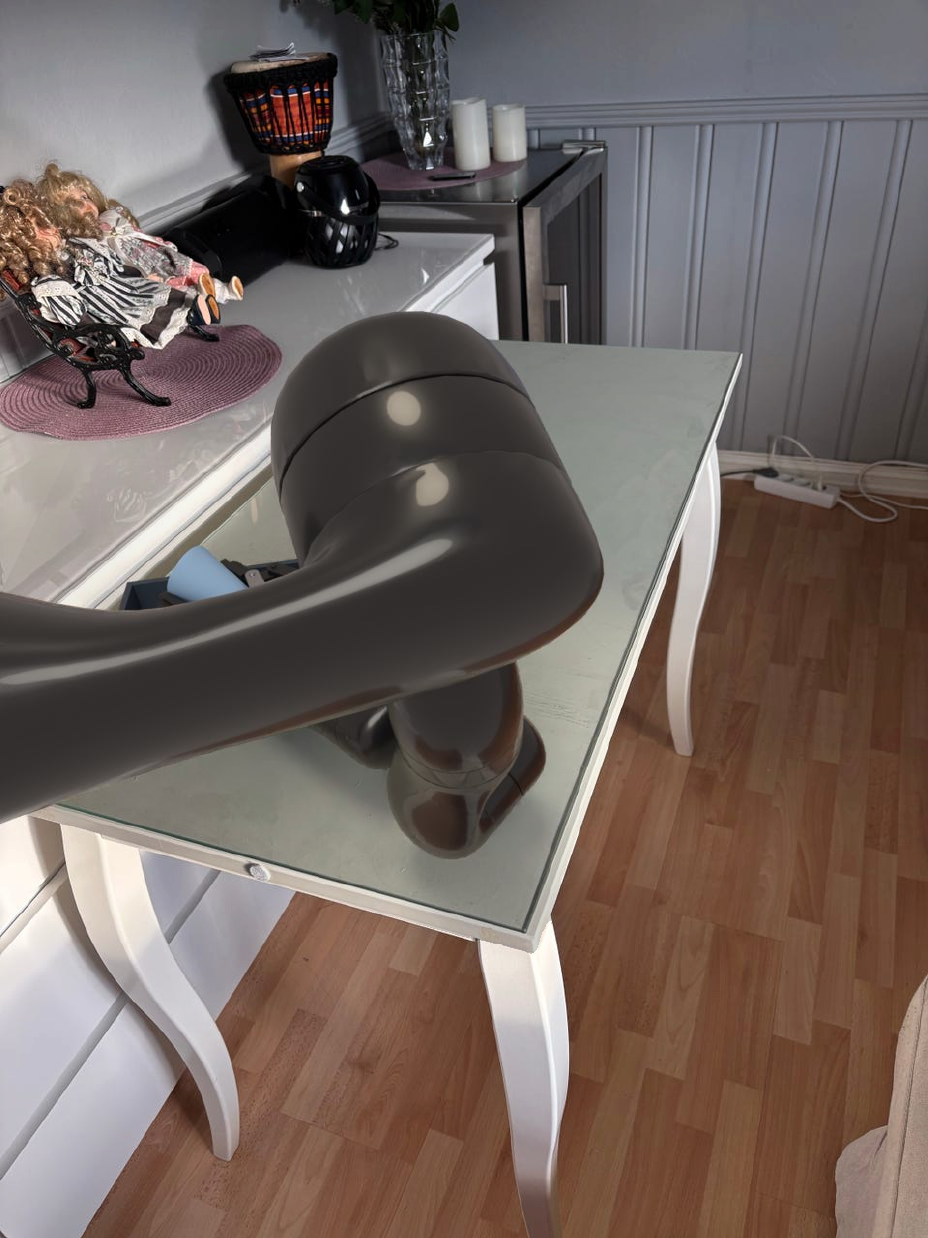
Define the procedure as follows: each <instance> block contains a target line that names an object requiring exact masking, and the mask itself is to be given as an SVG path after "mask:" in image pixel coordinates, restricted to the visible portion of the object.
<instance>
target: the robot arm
mask: <svg viewBox="0 0 928 1238" xmlns="http://www.w3.org/2000/svg"><path fill="white" fill-rule="evenodd" d="M269 451H270V453H269V454H270V465H271V471H272V476H273V480H274V485H275V490H276V495H277V497H278V502H279V505H280V506H279V507H280V508H281V512H282V514H283V516H284V520H285V524H286V527H287V530H288V533H289V537H290V541H291V543H292V547H293V551H294V555H295V557H296V559H297V561H298V564H299V568H300V569H295V568H293V567H290V566H287V565H284V564H281V563H277V561H274V562H275V563H271V564H269V565H268V566H267V570H265V571H262V572H259V571H258V570H251V569H249V568H247V567H246V566H247V565H245V564H242V563H241V562H240V561H237V560H231V561H230V560H229V559H227V558H223V559H222V560H219V561H220V562H221V563H222V564H223V565H224V566H225V567H226V568H227V569H228V570H230V571H231V572H232V573H233V574H234V575H235V576H236V577H237V578H238V579H239V580H241V581H242V582H243V583H244V584H245V585H246V586H247V587H248V588H246V589H242V590H239V591H235V592H232V593H228V594H224V595H220V596H215V597H211V598H206V599H201V600H197V601H192V602H188V603H183V602H182V601H180V600H179V599H177V598H176V597H175V596H173V595H172V594H171V593H169V592H168V591H165V592H163V593H161V594H160V595H159V598H160V601H159V602H157V603H158V607H159V608H156V609H146V610H115V609H114V610H111V609H110V610H109V609H102V608H101V609H99V608H88V607H83V606H76V605H69V604H64V603H63V604H62V603H57V602H53V601H52V602H51V601H46V600H42V599H37V598H33V597H29V596H24V595H20V594H16V593H11V592H8V591H2V590H0V825H2V824H4V823H8V822H10V821H12V820H16V819H18V818H21V817H23V816H27V815H29V814H31V813H35V812H38V811H40V810H42V809H45V808H48V807H51V806H55V805H57V804H60V803H63V802H65V801H68V800H72V799H73V798H76V797H79V796H82V795H85V794H87V793H90V792H93V791H96V790H98V789H102V788H104V787H108V786H110V785H114V784H116V783H119V782H122V781H125V780H127V779H130V778H134V777H136V776H139V775H142V774H146V773H148V772H152V771H154V770H157V769H160V768H163V767H167V766H170V765H174V764H177V763H179V762H183V761H186V760H190V759H193V758H196V757H199V756H202V755H207V754H211V753H214V752H217V751H222V750H224V749H225V750H226V749H228V748H231V747H235V746H239V745H242V744H245V743H250V742H253V741H257V740H261V739H264V738H267V737H271V736H275V735H278V734H282V733H286V732H290V731H293V730H297V729H301V728H304V727H307V728H310V729H311V730H313V731H315V732H317V733H319V734H320V735H321V736H323V737H324V738H326V739H327V740H328V741H329V742H331V743H332V744H333V745H334V746H336V747H337V748H339V749H340V750H341V751H342V752H344V753H345V754H346V755H348V756H349V757H350V758H352V759H353V760H354V761H356V762H357V763H358V764H360V765H362V766H364V767H366V768H368V769H372V770H379V771H380V770H381V771H382V770H387V769H388V771H387V777H386V795H387V801H388V805H389V808H390V811H391V814H392V816H393V819H394V820H395V822H396V824H397V826H398V827H399V828H400V830H401V831H402V833H403V834H404V835H405V836H406V838H407V839H408V840H409V841H410V842H411V843H412V844H413V845H414V846H416V847H417V848H419V849H420V850H421V851H422V852H425V853H427V854H429V855H430V856H432V857H436V858H439V859H444V860H458V859H462V858H466V857H468V856H471V855H472V854H474V853H475V852H477V851H478V850H479V849H480V848H482V846H483V845H485V843H486V842H487V841H488V840H489V839H490V837H491V836H492V835H493V834H494V833H495V832H496V830H497V829H498V828H499V827H500V825H501V824H502V823H503V822H504V821H505V819H506V818H507V817H508V816H509V815H510V814H511V812H512V811H513V810H514V809H515V808H516V806H517V805H518V804H519V803H520V802H521V800H522V798H524V797H525V796H526V794H528V792H529V791H530V790H531V789H532V788H533V786H535V784H536V783H537V781H538V780H539V779H540V777H541V776H542V774H543V772H544V770H545V767H546V763H547V750H546V746H545V741H544V739H543V737H542V735H541V734H540V731H539V730H538V728H537V726H536V725H535V724H534V723H533V722H532V720H530V719H529V717H527V715H525V714H524V712H525V711H524V709H525V707H524V691H523V690H524V689H523V682H522V677H521V672H520V668H519V664H518V661H519V660H521V659H523V658H525V657H527V656H528V655H531V654H532V653H535V652H537V651H539V650H540V649H543V648H544V647H546V646H548V645H550V644H551V643H552V642H554V641H555V640H556V639H558V638H559V637H560V636H562V635H563V634H564V633H566V632H567V631H568V630H570V629H571V628H572V627H573V626H574V625H576V624H577V623H578V622H580V621H581V620H582V619H583V617H584V616H585V615H586V614H587V612H588V611H589V610H590V609H591V607H592V606H593V605H594V604H595V602H596V601H597V599H598V597H599V595H600V593H601V591H602V588H603V583H604V580H605V579H604V578H605V562H604V561H605V559H604V556H603V553H602V550H601V546H600V544H599V540H598V537H597V534H596V532H595V529H594V527H593V525H592V523H591V521H590V518H589V516H588V514H587V512H586V510H585V508H584V505H583V503H582V501H581V499H580V497H579V494H578V493H577V492H576V489H575V488H574V487H573V484H572V483H573V482H572V480H571V478H570V476H569V474H568V472H567V470H566V467H565V465H564V463H563V461H562V459H561V457H560V455H559V452H558V451H557V449H556V446H555V445H554V442H553V441H552V439H551V436H550V434H549V433H548V430H547V428H546V426H545V424H544V422H543V420H542V417H541V416H540V414H539V412H538V411H537V408H536V406H535V405H534V402H533V401H532V398H531V396H530V394H529V392H528V391H527V389H526V387H525V385H524V382H522V380H521V378H520V377H519V375H518V374H517V372H516V370H515V369H514V368H513V367H512V365H511V364H510V363H509V361H508V359H506V358H505V356H504V355H503V354H502V353H501V352H500V351H499V349H498V348H497V347H496V346H495V345H494V343H492V341H491V340H490V339H488V338H487V337H486V336H484V335H483V334H482V333H480V332H479V331H478V330H476V329H474V328H473V326H471V325H469V324H467V323H465V322H463V321H460V320H458V319H456V318H454V317H451V316H449V315H446V314H440V313H436V312H435V313H434V312H430V311H425V310H413V311H411V310H410V311H409V310H408V311H407V310H406V311H392V312H387V313H381V314H377V315H371V316H368V317H365V318H361V319H358V320H357V321H354V322H352V323H349V324H347V325H345V326H343V327H342V328H340V329H338V330H337V331H335V332H333V333H331V334H330V335H328V336H326V337H324V338H323V339H322V340H320V341H319V342H318V343H317V344H316V345H315V346H313V347H312V348H311V349H310V350H309V351H308V352H307V353H306V354H304V355H303V357H302V358H301V359H300V360H299V362H298V363H297V365H296V366H294V368H293V369H292V371H291V372H290V373H289V375H288V376H287V378H286V379H285V382H284V383H283V386H282V388H281V390H280V392H279V393H278V396H277V398H276V402H275V406H274V410H273V414H272V418H271V421H270V450H269Z"/></svg>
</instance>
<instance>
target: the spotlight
mask: <svg viewBox="0 0 928 1238" xmlns="http://www.w3.org/2000/svg"><path fill="white" fill-rule="evenodd" d="M220 561H221V560H219V559H217V557H216V556H214V555H213V554H212V553H211V552H210V551H209V550H208V549H207V548H206V547H204V546H203V545H195V546H193V547H192V548H190V549H189V550H188V551H186V552H185V553H184V554H183V555H182V557H180V558H179V560H178V561H177V563H176V564H175V566H174V567H173V569H172V571H171V573H170V575H169V576H170V578H169V581H168V585H167V591H168V592H169V593H171V594H172V595H173V596H175V597H176V598H178V599H181V600H183V601H186V602H192V601H197V600H201V599H206V598H211V597H215V596H220V595H224V594H228V593H232V592H235V591H239V590H242V589H246V588H248V587H247V586H246V585H245V584H244V583H243V582H242V581H241V580H239V579H238V578H237V577H236V576H235V575H234V574H233V573H232V572H231V571H230V570H228V569H227V568H226V567H225V566H224V565H223V564H222V563H221V562H220Z"/></svg>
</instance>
